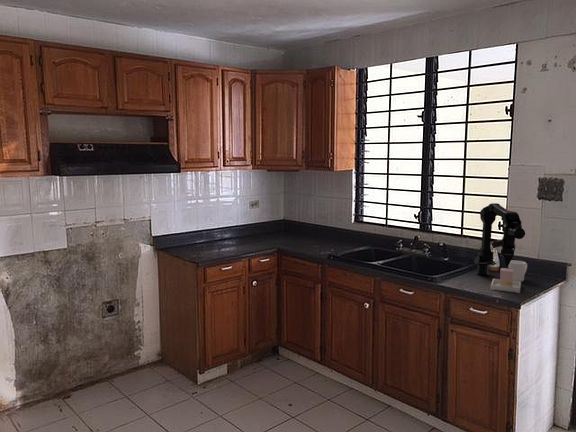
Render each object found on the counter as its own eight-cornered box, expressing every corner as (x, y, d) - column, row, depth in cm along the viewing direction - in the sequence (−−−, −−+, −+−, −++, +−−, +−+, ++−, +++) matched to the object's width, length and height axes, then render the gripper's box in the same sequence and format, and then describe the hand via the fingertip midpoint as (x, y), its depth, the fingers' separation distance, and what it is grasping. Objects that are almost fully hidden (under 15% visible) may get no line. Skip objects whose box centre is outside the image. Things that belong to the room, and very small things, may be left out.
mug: (514, 282, 267) (515, 264, 266) (504, 278, 276) (505, 260, 275) (531, 281, 270) (532, 263, 268) (520, 277, 278) (522, 259, 277)
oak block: (500, 284, 261) (500, 275, 260) (512, 286, 258) (512, 277, 257) (499, 287, 255) (499, 278, 255) (511, 289, 253) (512, 280, 252)
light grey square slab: (492, 282, 266) (493, 278, 266) (520, 286, 260) (520, 281, 259) (490, 289, 254) (490, 284, 253) (519, 293, 247) (520, 288, 247)
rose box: (500, 275, 260) (501, 267, 259) (512, 277, 257) (513, 269, 257) (499, 278, 255) (500, 270, 254) (512, 280, 252) (512, 271, 251)
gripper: (494, 231, 265) (492, 259, 267) (491, 237, 248) (489, 266, 250) (516, 233, 259) (514, 261, 262) (514, 239, 243) (512, 268, 245)
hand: (507, 264), depth 255 cm, fingers open, 9 cm apart
